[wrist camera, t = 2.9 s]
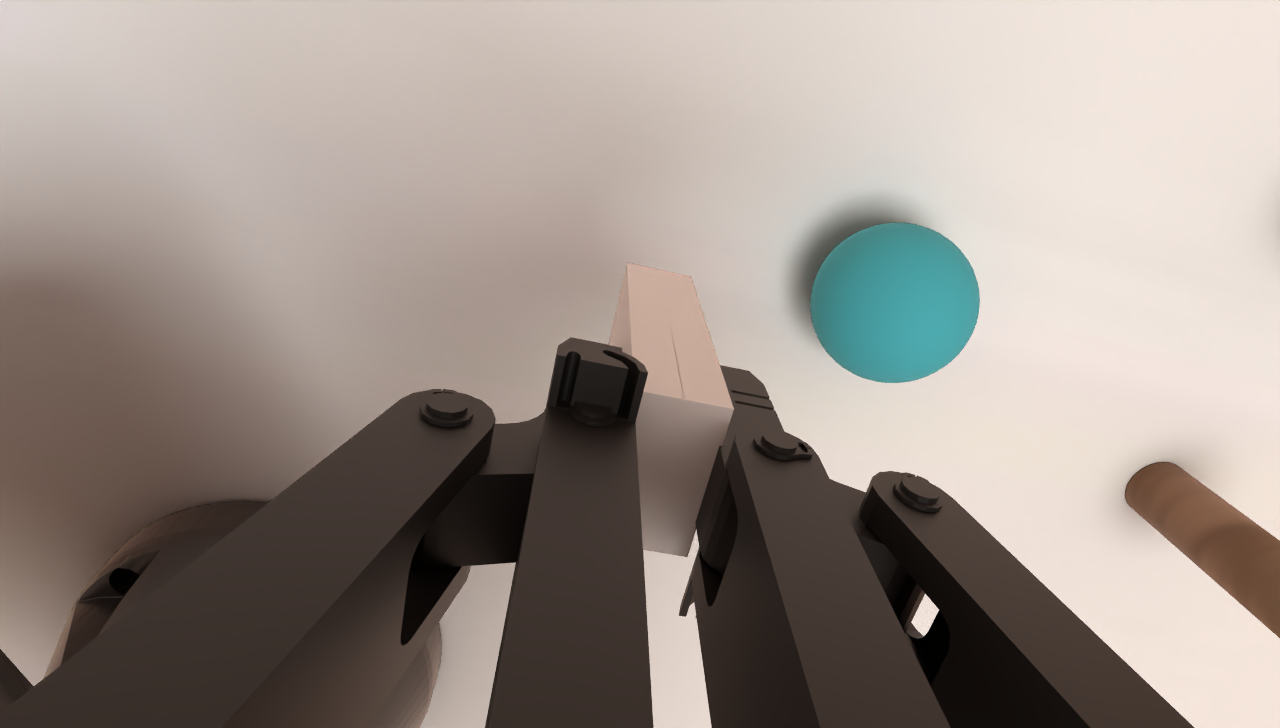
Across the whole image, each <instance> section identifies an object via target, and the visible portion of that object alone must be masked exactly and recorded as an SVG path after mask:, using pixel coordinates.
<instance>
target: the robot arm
mask: <svg viewBox="0 0 1280 728" xmlns="http://www.w3.org/2000/svg"><path fill="white" fill-rule="evenodd" d="M495 419H496V418H495V416H494V413H493V411H492V409H491V408H490V407H489V406H487V405H486V404H485V403H484V402H483V401H481V400H479V399H476V398H474V397H472V396H469V395H467V394H463V393H458V392H456V391H453V390H446V389H444V390H441V389H432V390H428V391H422V392H416V393H412V394H410V395H408V396H406V397H404V398H402V399H400V400H399V401H398V402H397V403H395V404H394V405H393V406H391V407H390V408H389V409H388V410H386V411H385V412H384V413H383V414H381V415H380V416H379V417H377V418H376V419H375V420H374V421H372V422H371V423H370V424H368V425H367V426H366V427H365V428H363V429H362V430H361V431H360V432H358V433H357V434H356V435H354V436H353V437H352V438H351V439H349V440H348V441H347V442H346V443H344V444H343V445H342V446H340V447H339V448H338V449H337V450H335V451H334V452H333V453H331V454H330V455H329V456H328V457H326V458H325V459H324V460H323V461H321V462H320V463H319V464H317V465H316V466H315V467H314V468H312V469H311V470H310V471H308V472H307V473H306V474H305V475H303V476H302V477H301V478H300V479H298V480H297V481H296V482H294V483H293V484H292V485H291V486H289V487H288V488H287V489H286V490H284V491H283V492H282V493H280V494H279V495H278V496H277V497H275V498H274V499H273V500H271V501H270V502H269V503H260V502H224V503H215V504H208V505H203V506H197V507H193V508H189V509H186V510H182V511H179V512H176V513H173V514H171V515H168V516H166V517H164V518H161V519H159V520H158V521H156V522H154V523H152V524H150V525H148V526H147V527H145V528H144V529H142V530H141V531H139V532H138V533H137V534H135V535H134V536H133V537H132V538H131V539H129V540H128V541H127V542H126V543H125V544H124V545H123V546H122V547H121V548H120V549H119V550H118V551H117V552H116V553H115V554H114V555H113V557H112V558H111V559H110V560H109V561H108V562H107V563H106V564H105V565H104V566H103V567H102V568H101V569H100V570H99V571H98V572H97V573H96V574H95V575H94V577H93V578H92V579H91V580H90V581H89V583H88V584H87V585H86V587H85V588H84V590H83V591H82V593H81V594H80V596H79V597H78V599H77V601H76V603H75V604H74V606H73V609H72V611H71V613H70V616H69V618H68V621H67V623H66V625H65V628H64V630H63V633H62V635H61V637H60V640H59V642H58V645H57V647H56V649H55V652H54V654H53V657H52V659H51V661H50V664H49V666H48V669H47V671H46V673H45V676H44V678H43V680H42V681H40V682H39V683H38V684H37V685H35V686H33V685H32V684H31V683H30V682H29V681H28V680H27V679H26V677H25V676H24V675H23V674H22V673H21V672H20V671H19V670H18V668H17V667H16V666H15V665H14V664H13V663H12V662H11V661H10V659H9V658H8V657H7V656H6V655H5V654H4V653H3V652H2V650H1V649H0V728H420V726H421V724H422V722H423V719H424V717H425V715H426V713H427V710H428V707H429V704H430V700H431V697H432V693H433V689H434V686H435V682H436V678H437V675H438V671H439V666H440V661H441V636H440V631H439V626H438V622H439V621H440V619H441V618H442V616H443V615H444V613H445V612H446V610H447V609H448V607H449V606H450V604H451V603H452V601H453V600H454V598H455V597H456V595H457V594H458V592H459V591H460V589H461V588H462V586H463V585H464V583H465V582H466V580H467V577H468V574H469V571H470V567H471V566H472V565H486V564H499V563H512V562H516V565H515V571H514V576H513V581H512V587H511V592H510V597H509V603H508V608H507V613H506V619H505V624H504V629H503V635H502V640H501V645H500V651H499V656H498V661H497V667H496V672H495V677H494V683H493V688H492V693H491V699H490V704H489V709H488V715H487V720H486V725H485V728H653V715H652V697H651V680H650V663H649V646H648V629H647V611H646V594H645V577H644V560H643V550H649V551H655V552H661V553H667V554H673V555H679V556H685V557H687V556H688V553H689V550H690V547H691V544H692V540H693V537H694V534H695V531H696V529H697V535H698V541H699V550H698V553H697V556H696V559H695V562H694V565H693V568H692V571H691V575H690V578H689V581H688V584H687V587H686V590H685V593H684V596H683V599H682V603H681V606H680V612H679V616H685V617H686V615H687V612H688V608H689V606H690V605H691V604H692V603H693V602H695V609H696V618H697V623H698V631H699V638H700V645H701V652H702V660H703V667H704V674H705V682H706V689H707V696H708V703H709V711H710V718H711V725H712V728H1194V727H1193V726H1192V725H1191V724H1190V723H1189V722H1188V721H1187V720H1186V719H1185V718H1184V717H1183V716H1182V715H1180V714H1179V713H1178V712H1177V711H1176V710H1175V709H1174V708H1173V707H1172V706H1171V705H1170V704H1169V703H1168V702H1167V701H1166V700H1165V699H1164V698H1163V697H1161V696H1160V695H1159V694H1158V693H1157V692H1156V691H1155V690H1154V689H1153V688H1152V687H1151V686H1150V685H1149V684H1148V683H1147V682H1146V681H1145V680H1144V679H1143V678H1141V677H1140V676H1139V675H1138V674H1137V673H1136V672H1135V671H1134V670H1133V669H1132V668H1131V667H1130V666H1129V665H1128V664H1127V663H1126V662H1125V661H1124V660H1123V659H1121V658H1120V657H1119V656H1118V655H1117V654H1116V653H1115V652H1114V651H1113V650H1112V649H1111V648H1110V647H1109V646H1108V645H1107V644H1106V643H1105V642H1104V641H1103V640H1101V639H1100V638H1099V637H1098V636H1097V635H1096V634H1095V633H1094V632H1093V631H1092V630H1091V629H1090V628H1089V627H1088V626H1087V625H1086V624H1085V623H1084V622H1083V621H1081V620H1080V619H1079V618H1078V617H1077V616H1076V615H1075V614H1074V613H1073V612H1072V611H1071V610H1070V609H1069V608H1068V607H1067V606H1066V605H1065V604H1064V603H1062V602H1061V601H1060V600H1059V599H1058V598H1057V597H1056V596H1055V595H1054V594H1053V593H1052V592H1051V591H1050V590H1049V589H1048V588H1047V587H1046V586H1045V585H1044V584H1042V583H1041V582H1040V581H1039V580H1038V579H1037V578H1036V577H1035V576H1034V575H1033V574H1032V573H1031V572H1030V571H1029V570H1028V569H1027V568H1026V567H1025V566H1024V565H1022V564H1021V563H1020V562H1019V561H1018V560H1017V559H1016V558H1015V557H1014V556H1013V555H1012V554H1011V553H1010V552H1009V551H1008V550H1007V549H1006V548H1005V547H1004V546H1002V545H1001V544H1000V543H999V542H998V541H997V540H996V539H995V538H994V537H993V536H992V535H991V534H990V533H989V532H988V531H987V530H986V529H985V528H983V527H982V526H981V525H980V524H979V523H978V522H977V521H976V520H975V519H974V518H973V517H972V516H971V515H970V514H969V513H968V512H967V511H966V510H965V509H963V508H962V507H961V506H960V505H959V504H958V503H957V502H956V501H955V500H954V499H953V498H952V497H950V496H949V495H948V494H946V493H945V492H944V491H943V490H941V489H940V488H938V487H936V486H934V485H933V484H931V483H929V481H928V480H926V479H924V478H922V477H919V476H917V477H915V475H913V474H910V473H899V472H893V471H888V472H879V473H878V474H876V475H875V476H874V477H872V480H871V482H870V485H869V487H868V489H867V492H866V493H865V492H863V491H860V490H857V489H854V488H852V487H849V486H846V485H843V484H840V483H838V482H835V481H833V480H831V479H829V477H828V475H827V473H826V471H825V469H824V467H823V465H822V462H821V460H820V458H819V456H818V455H817V454H816V452H815V451H814V450H813V449H812V447H810V446H809V445H808V444H807V443H805V442H803V441H802V440H801V439H799V438H797V437H795V436H793V435H791V434H788V433H786V432H784V430H783V428H782V425H781V423H780V421H779V418H778V416H777V414H776V412H775V411H774V407H773V405H772V402H771V400H769V395H768V393H767V391H766V388H765V386H764V384H763V383H762V382H760V381H759V380H758V379H757V378H756V377H755V376H754V375H753V374H751V373H750V372H749V371H746V370H741V369H736V368H731V367H726V366H721V365H720V364H719V361H718V358H717V355H716V352H715V349H714V346H713V343H712V340H711V337H710V333H709V330H708V327H707V324H706V321H705V318H704V315H703V312H702V309H701V306H700V303H699V299H698V296H697V293H696V290H695V287H694V284H693V281H692V278H691V276H687V275H682V274H677V273H673V272H668V271H663V270H659V269H654V268H649V267H645V266H640V265H635V264H631V263H627V266H626V270H625V274H624V279H623V283H622V287H621V292H620V296H619V301H618V305H617V309H616V314H615V318H614V322H613V327H612V331H611V335H610V340H609V344H608V345H606V344H601V343H596V342H591V341H586V340H581V339H576V338H569V339H568V340H566V341H565V342H563V343H562V344H560V345H559V346H558V349H557V354H556V359H555V364H554V369H553V374H552V379H551V384H550V389H549V394H548V400H547V405H546V409H545V411H544V412H543V413H542V414H541V415H539V416H538V417H536V418H534V419H532V420H529V421H525V422H520V423H510V424H495ZM925 593H926V595H927V596H928V597H929V598H930V599H931V601H932V602H933V603H934V604H935V605H936V606H937V608H938V609H939V612H938V614H937V615H936V617H935V619H934V621H933V623H932V625H931V627H930V629H929V631H928V633H927V634H926V635H925V636H923V635H922V634H920V633H919V632H918V631H917V630H916V628H915V627H914V626H913V624H912V623H911V621H912V619H913V617H914V615H915V613H916V611H917V609H918V607H919V605H920V603H921V601H922V599H923V597H924V595H925Z"/></svg>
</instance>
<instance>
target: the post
mask: <svg viewBox="0 0 1280 728" xmlns="http://www.w3.org/2000/svg"><path fill="white" fill-rule="evenodd" d="M1125 497H1126V501H1127V503H1128V505H1129V506H1130V507H1131V508H1132V509H1134V510H1135V511H1136V512H1137V513H1138V514H1139V515H1140V516H1142V517H1143V518H1144V519H1145V520H1146V521H1147V522H1148V523H1149V524H1151V525H1152V526H1153V527H1154V528H1155V529H1156V530H1157V531H1159V532H1160V533H1161V534H1162V535H1163V536H1164V537H1165V538H1167V539H1168V540H1169V541H1170V542H1171V543H1172V544H1173V545H1174V546H1176V547H1177V548H1178V549H1179V550H1180V551H1181V552H1182V553H1184V554H1185V555H1186V556H1187V557H1188V558H1189V559H1190V560H1192V561H1193V562H1194V563H1195V564H1196V565H1197V566H1198V567H1199V568H1201V569H1202V570H1203V571H1204V572H1205V573H1206V574H1207V575H1209V576H1210V577H1211V578H1212V579H1213V580H1214V581H1215V582H1217V583H1218V584H1219V585H1220V586H1221V587H1222V588H1223V589H1224V590H1226V591H1227V592H1228V593H1229V594H1230V595H1231V596H1232V597H1234V598H1235V599H1236V600H1237V601H1238V602H1239V603H1240V604H1242V605H1243V606H1244V607H1245V608H1246V609H1247V610H1248V611H1250V612H1251V613H1252V614H1253V615H1254V616H1255V617H1256V618H1257V619H1259V620H1260V621H1261V622H1262V623H1263V624H1264V625H1265V626H1267V627H1268V628H1269V629H1270V630H1271V631H1272V632H1273V633H1275V634H1276V635H1277V636H1278V637H1279V638H1280V541H1279V540H1278V539H1276V538H1275V537H1274V536H1272V535H1271V534H1270V533H1268V532H1267V531H1266V530H1264V529H1263V528H1261V527H1260V526H1259V525H1257V524H1256V523H1255V522H1253V521H1252V520H1251V519H1249V518H1248V517H1247V516H1245V515H1244V514H1242V513H1241V512H1240V511H1238V510H1237V509H1236V508H1234V507H1233V506H1232V505H1230V504H1229V503H1227V502H1226V501H1225V500H1223V499H1222V498H1221V497H1219V496H1218V495H1217V494H1215V493H1214V492H1213V491H1211V490H1210V489H1208V488H1207V487H1206V486H1204V485H1203V484H1202V483H1200V482H1199V481H1198V480H1196V479H1195V478H1193V477H1192V476H1191V475H1189V474H1188V473H1187V472H1185V471H1184V470H1183V469H1181V468H1180V467H1179V466H1177V465H1175V464H1173V463H1168V462H1161V463H1155V464H1152V465H1149V466H1147V467H1145V468H1143V469H1142V470H1140V471H1139V472H1138V473H1136V474H1135V475H1134V476H1133V478H1132V479H1131V480H1130V482H1129V483H1128V485H1127V488H1126V492H1125Z"/></svg>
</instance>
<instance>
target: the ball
mask: <svg viewBox="0 0 1280 728" xmlns="http://www.w3.org/2000/svg"><path fill="white" fill-rule="evenodd" d="M979 303H980V298H979V288H978V283H977V279H976V276H975V274H974V271H973V268H972V267H971V265H970V263H969V261H968V260H967V258H966V257H965V256H964V254H963V253H962V252H961V250H960V249H959V248H958V247H957V246H956V245H955V244H954V243H953V242H951V241H950V240H949V239H947V238H946V237H944V236H943V235H941V234H940V233H938V232H936V231H933V230H931V229H929V228H926V227H923V226H920V225H916V224H909V223H885V224H879V225H875V226H871V227H869V228H866V229H863V230H860V231H858V232H857V233H855V234H853V235H851V236H849V237H848V238H846V239H845V240H843V241H842V242H841V243H840V244H839V245H838V246H836V247H835V248H834V249H833V250H832V252H831V253H830V254H829V255H828V256H827V258H826V259H825V260H824V262H823V263H822V265H821V267H820V269H819V270H818V273H817V275H816V278H815V280H814V284H813V288H812V292H811V300H810V310H811V317H812V323H813V326H814V329H815V332H816V334H817V337H818V339H819V341H820V343H821V344H822V346H823V347H824V349H825V350H826V352H827V353H828V354H829V355H830V356H831V357H832V358H833V359H834V360H835V361H836V362H837V363H838V364H839V365H841V366H842V367H843V368H845V369H847V370H848V371H850V372H852V373H853V374H855V375H858V376H860V377H862V378H866V379H869V380H873V381H877V382H884V383H900V382H909V381H913V380H917V379H920V378H923V377H926V376H928V375H930V374H932V373H935V372H936V371H938V370H939V369H941V368H943V367H944V366H946V365H947V364H948V363H949V362H951V361H952V360H953V359H954V358H955V357H956V356H957V355H958V354H959V353H960V351H961V350H962V349H963V348H964V346H965V345H966V343H967V342H968V340H969V339H970V337H971V335H972V333H973V331H974V328H975V325H976V323H977V318H978V314H979Z"/></svg>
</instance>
